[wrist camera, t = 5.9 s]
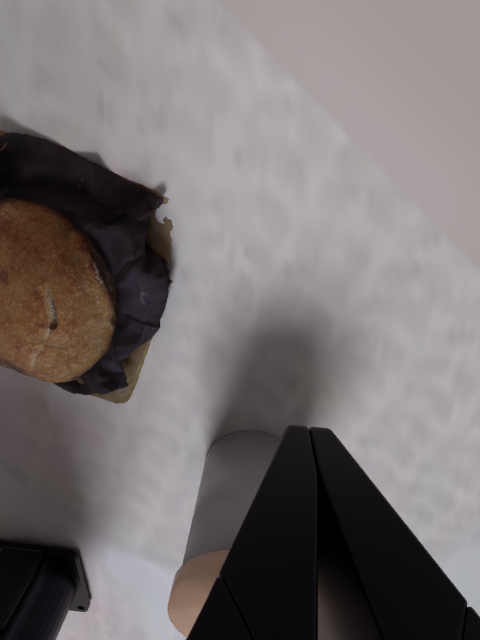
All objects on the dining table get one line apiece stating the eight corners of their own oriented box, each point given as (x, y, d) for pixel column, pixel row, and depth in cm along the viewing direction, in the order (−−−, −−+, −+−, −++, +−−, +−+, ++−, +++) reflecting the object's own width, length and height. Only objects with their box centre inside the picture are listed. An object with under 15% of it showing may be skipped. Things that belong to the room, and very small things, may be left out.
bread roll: (140, 400, 19) (112, 457, 15) (-24, 345, 18) (-91, 392, 15) (202, 198, 14) (180, 217, 11) (-18, 111, 13) (-116, 102, 10)
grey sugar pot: (298, 507, 20) (308, 665, 14) (201, 496, 20) (170, 647, 14) (311, 433, 18) (330, 585, 12) (201, 422, 18) (164, 565, 12)
